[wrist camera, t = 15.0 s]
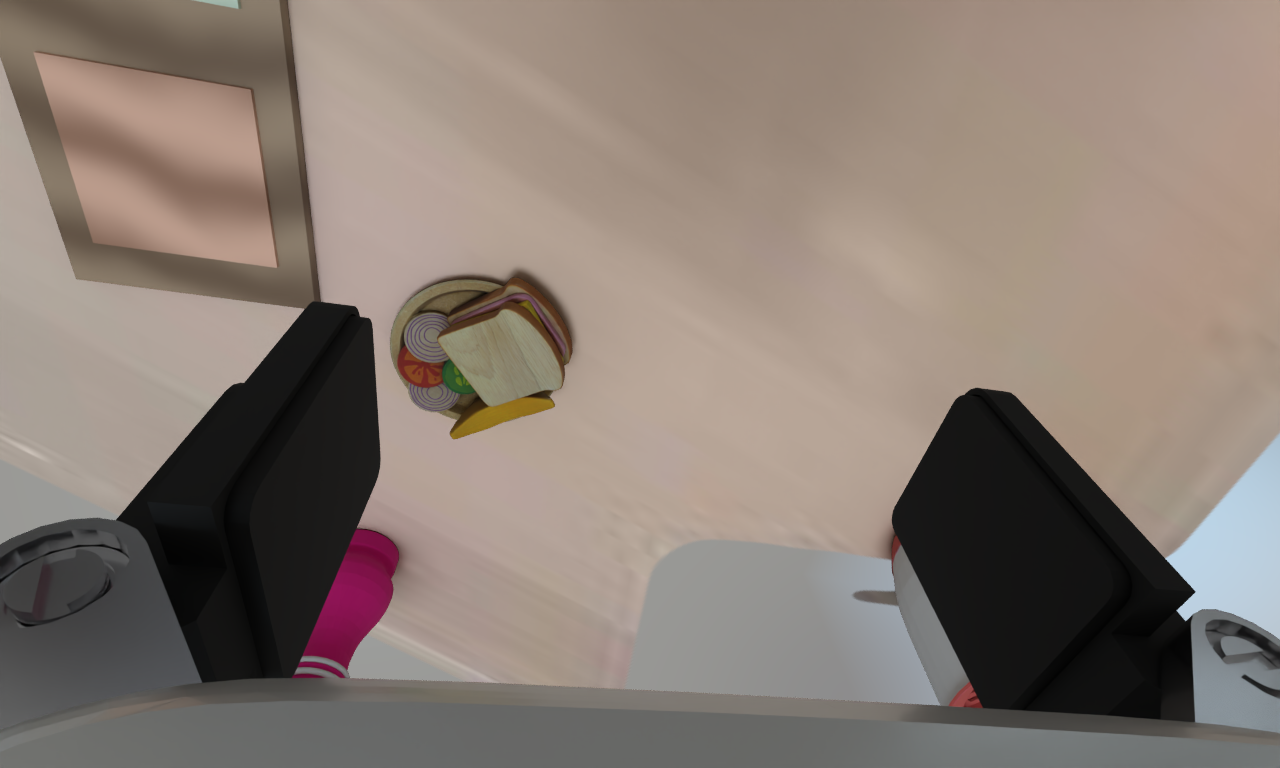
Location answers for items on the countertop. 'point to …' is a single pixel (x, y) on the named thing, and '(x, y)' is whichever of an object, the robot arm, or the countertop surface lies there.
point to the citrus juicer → (930, 636)
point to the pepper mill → (351, 606)
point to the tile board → (168, 142)
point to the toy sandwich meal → (480, 352)
